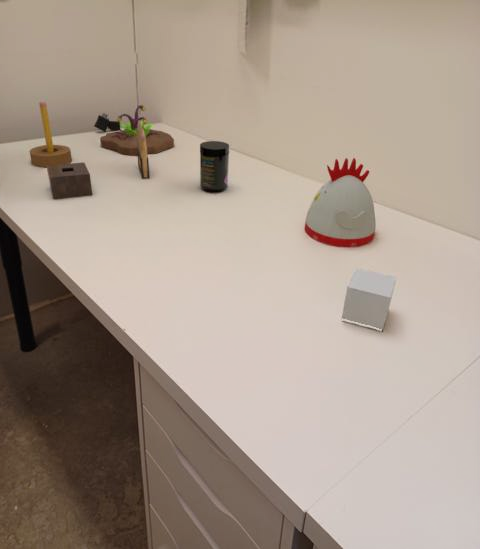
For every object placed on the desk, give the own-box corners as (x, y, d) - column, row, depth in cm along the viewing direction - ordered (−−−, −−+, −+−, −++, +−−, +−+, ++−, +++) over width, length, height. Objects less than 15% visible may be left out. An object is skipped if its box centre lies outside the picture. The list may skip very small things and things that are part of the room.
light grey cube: (388, 310, 73) (396, 277, 70) (382, 332, 68) (391, 297, 65) (349, 300, 75) (356, 267, 71) (340, 321, 70) (347, 286, 67)
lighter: (113, 136, 157) (119, 122, 157) (116, 137, 156) (122, 123, 155) (92, 125, 151) (99, 110, 151) (95, 127, 150) (102, 112, 149)
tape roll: (26, 166, 122) (24, 155, 120) (38, 155, 130) (36, 144, 129) (66, 167, 122) (64, 156, 121) (75, 155, 131) (74, 145, 129)
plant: (186, 145, 143) (185, 107, 137) (133, 159, 130) (130, 117, 125) (143, 132, 154) (141, 96, 148) (91, 143, 141) (87, 104, 136)
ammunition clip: (149, 178, 118) (146, 129, 112) (142, 178, 117) (138, 129, 111) (145, 164, 127) (142, 118, 121) (138, 165, 126) (135, 119, 120)
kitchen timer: (298, 216, 101) (306, 147, 94) (361, 216, 103) (374, 148, 95) (313, 247, 90) (323, 170, 82) (383, 246, 91) (400, 171, 83)
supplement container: (225, 194, 111) (226, 150, 105) (197, 192, 111) (197, 148, 106) (230, 184, 117) (231, 142, 111) (203, 182, 117) (203, 140, 112)
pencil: (48, 162, 126) (38, 103, 118) (50, 160, 127) (40, 101, 119) (54, 162, 126) (44, 103, 118) (56, 160, 127) (46, 102, 119)
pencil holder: (53, 199, 104) (49, 177, 102) (50, 186, 111) (46, 165, 108) (92, 195, 107) (89, 173, 105) (87, 182, 114) (84, 162, 111)
